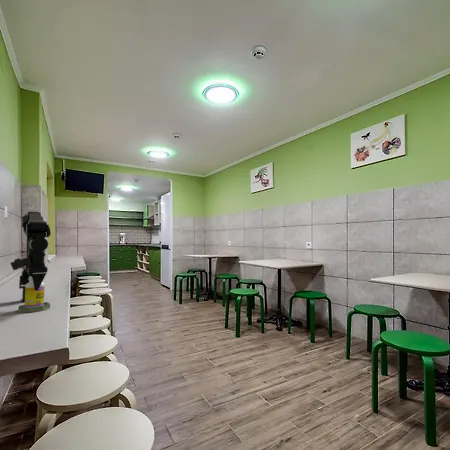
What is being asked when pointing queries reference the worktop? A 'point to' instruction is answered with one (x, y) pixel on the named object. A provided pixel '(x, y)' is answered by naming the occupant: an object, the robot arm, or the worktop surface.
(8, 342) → the worktop surface
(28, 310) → the coaster ring
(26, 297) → the supplement bottle
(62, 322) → the worktop surface
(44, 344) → the worktop surface
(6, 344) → the worktop surface
